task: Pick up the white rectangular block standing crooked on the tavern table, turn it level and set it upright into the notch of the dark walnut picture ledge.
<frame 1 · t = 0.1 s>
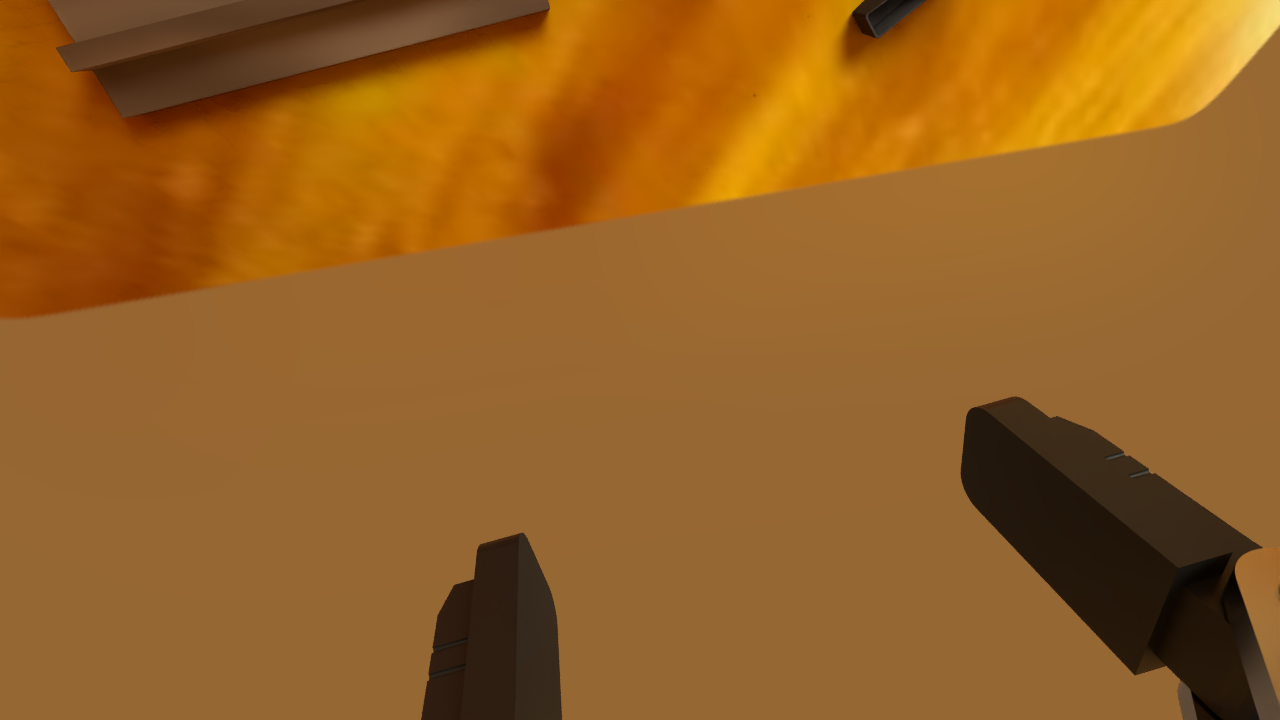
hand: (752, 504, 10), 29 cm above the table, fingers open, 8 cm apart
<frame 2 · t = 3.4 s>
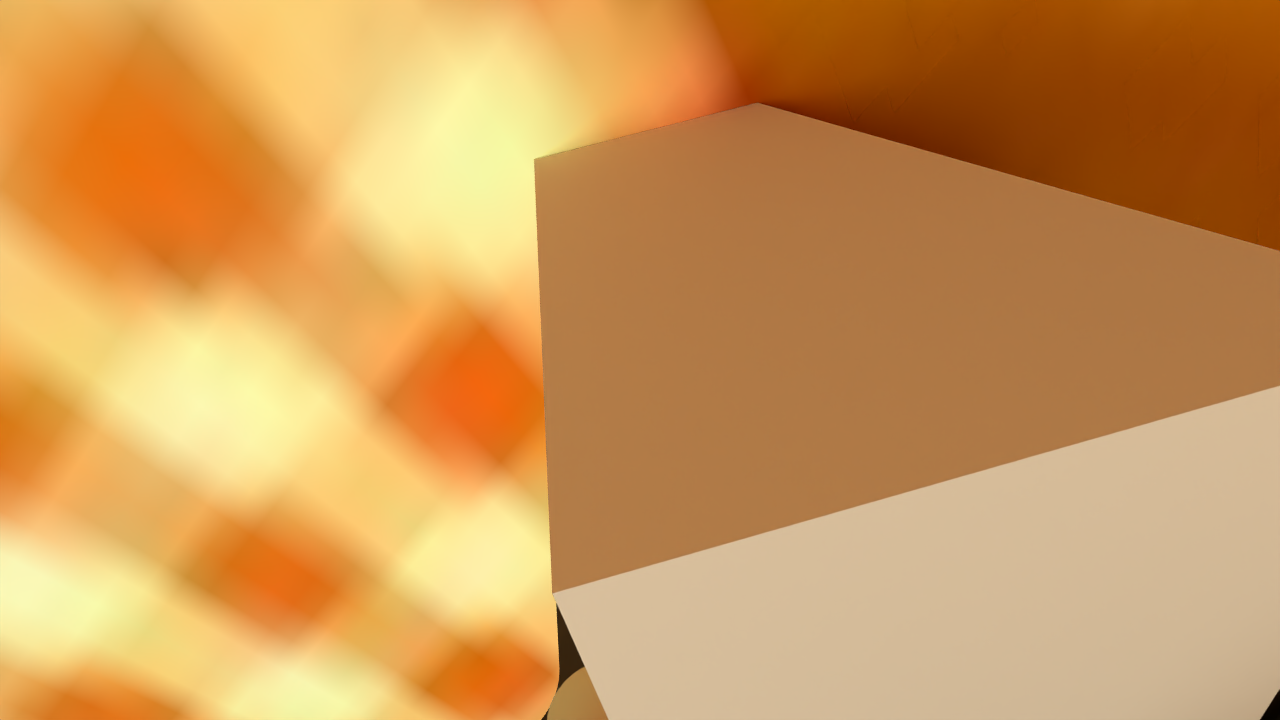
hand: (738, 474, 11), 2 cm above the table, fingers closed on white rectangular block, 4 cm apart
white rectangular block: (699, 407, 13), on the table, touching gripper
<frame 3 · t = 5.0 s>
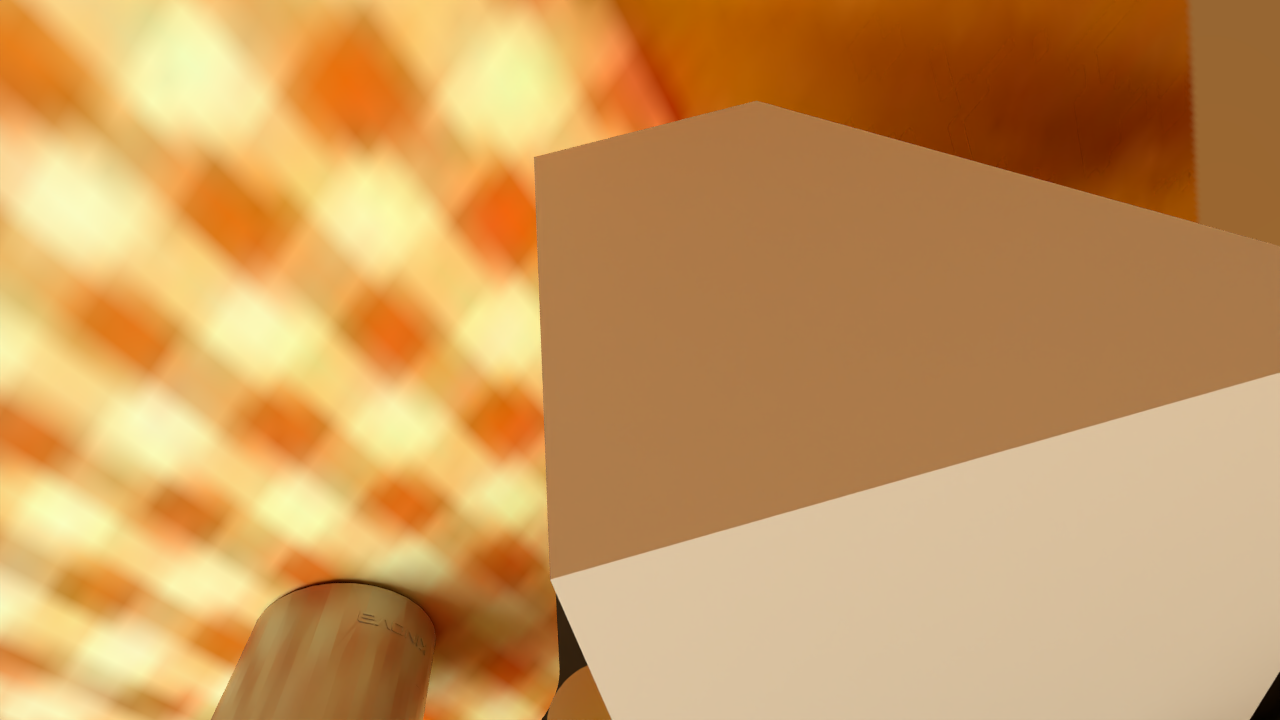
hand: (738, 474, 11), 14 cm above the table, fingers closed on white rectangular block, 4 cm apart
white rectangular block: (699, 405, 13), point 12 cm above the table, touching gripper
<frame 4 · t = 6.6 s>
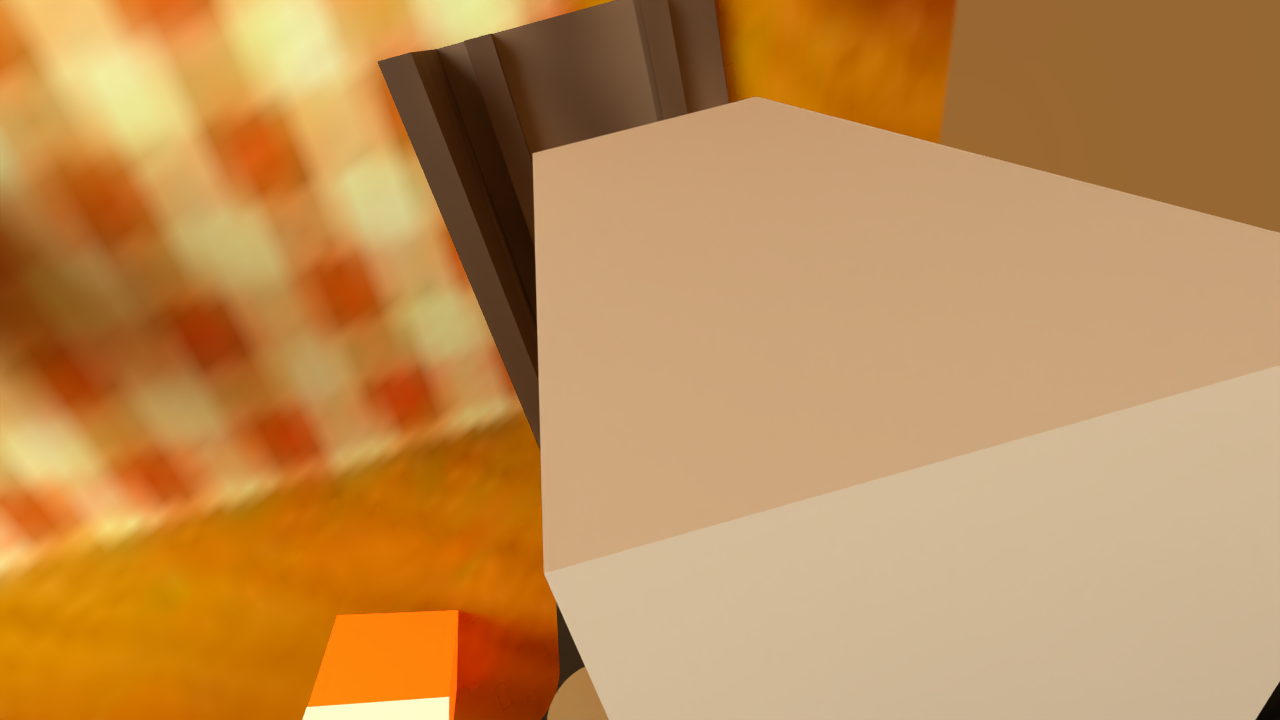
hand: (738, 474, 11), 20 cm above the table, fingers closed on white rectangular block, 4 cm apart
picture ledge: (625, 262, 29), on the table
orange juice: (401, 652, 40), on the table
white rectangular block: (699, 403, 13), point 17 cm above the table, touching gripper
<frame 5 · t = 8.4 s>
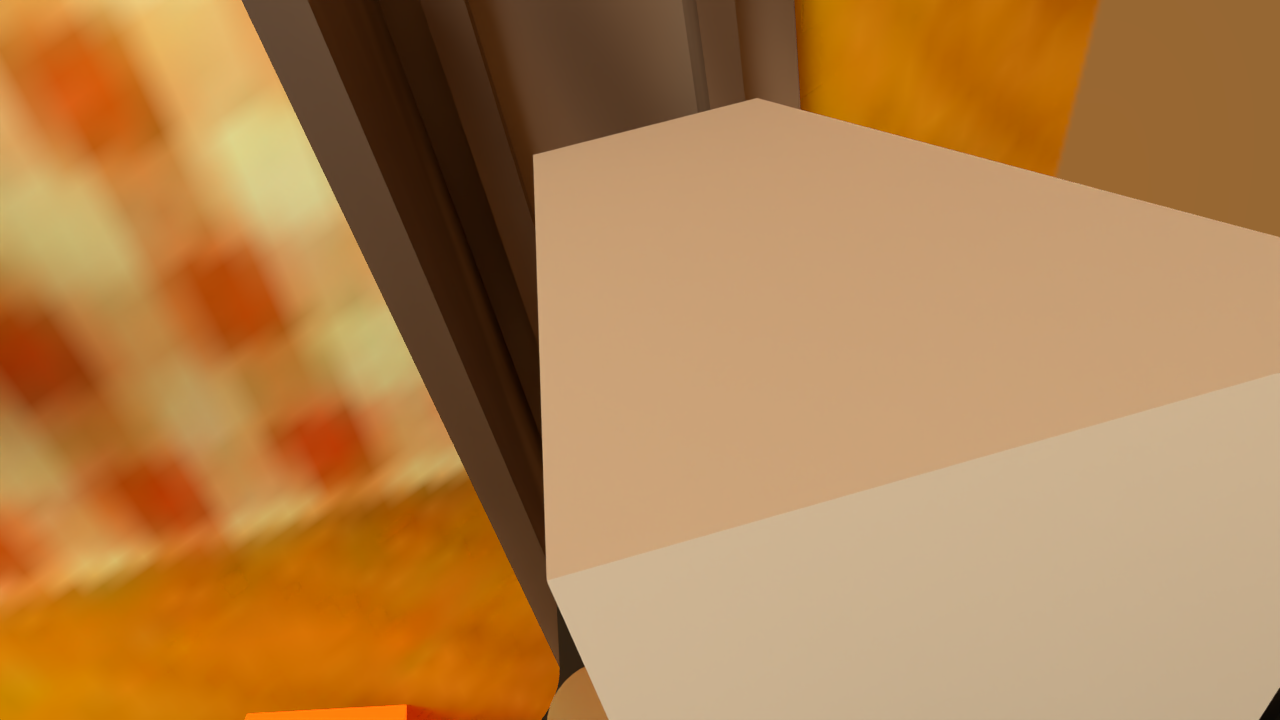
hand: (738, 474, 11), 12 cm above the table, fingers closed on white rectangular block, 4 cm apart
picture ledge: (634, 269, 21), on the table
white rectangular block: (699, 404, 13), point 9 cm above the table, touching gripper
when the fingers open (5 cm above the table, at t = 10.0 s): white rectangular block stays where it is, resting on picture ledge.
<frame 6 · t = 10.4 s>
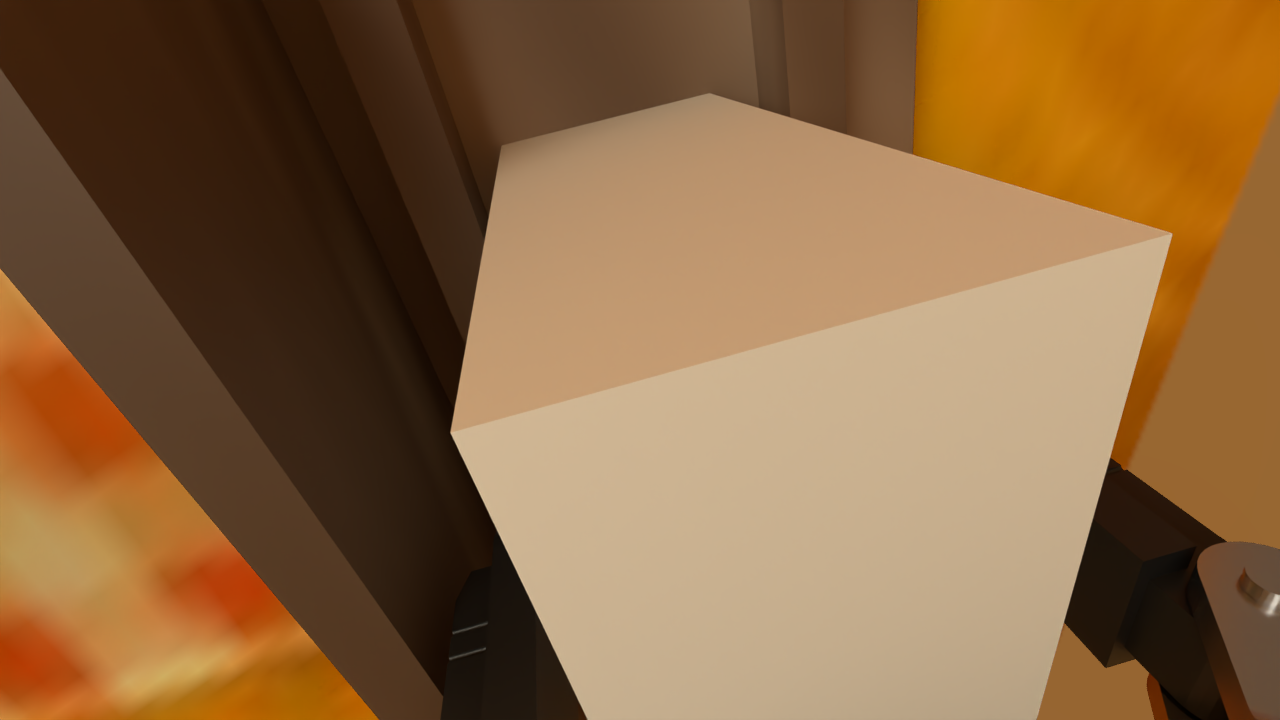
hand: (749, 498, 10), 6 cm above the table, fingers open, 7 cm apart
picture ledge: (659, 353, 15), on the table
white rectangular block: (664, 382, 14), point 1 cm above the table, touching picture ledge
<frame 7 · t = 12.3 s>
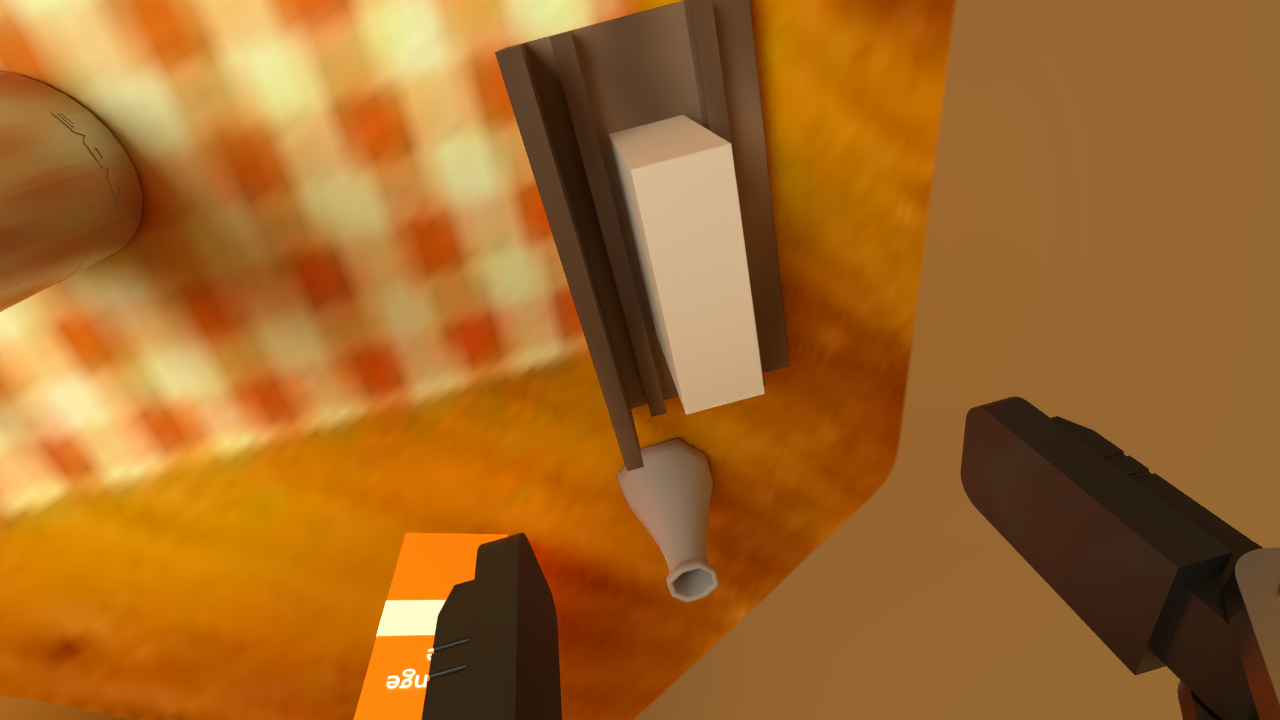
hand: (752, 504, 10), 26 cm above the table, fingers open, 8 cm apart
picture ledge: (666, 226, 34), on the table
flask: (664, 475, 44), on the table
orange juice: (456, 571, 46), on the table
white rectangular block: (668, 233, 33), point 1 cm above the table, touching picture ledge
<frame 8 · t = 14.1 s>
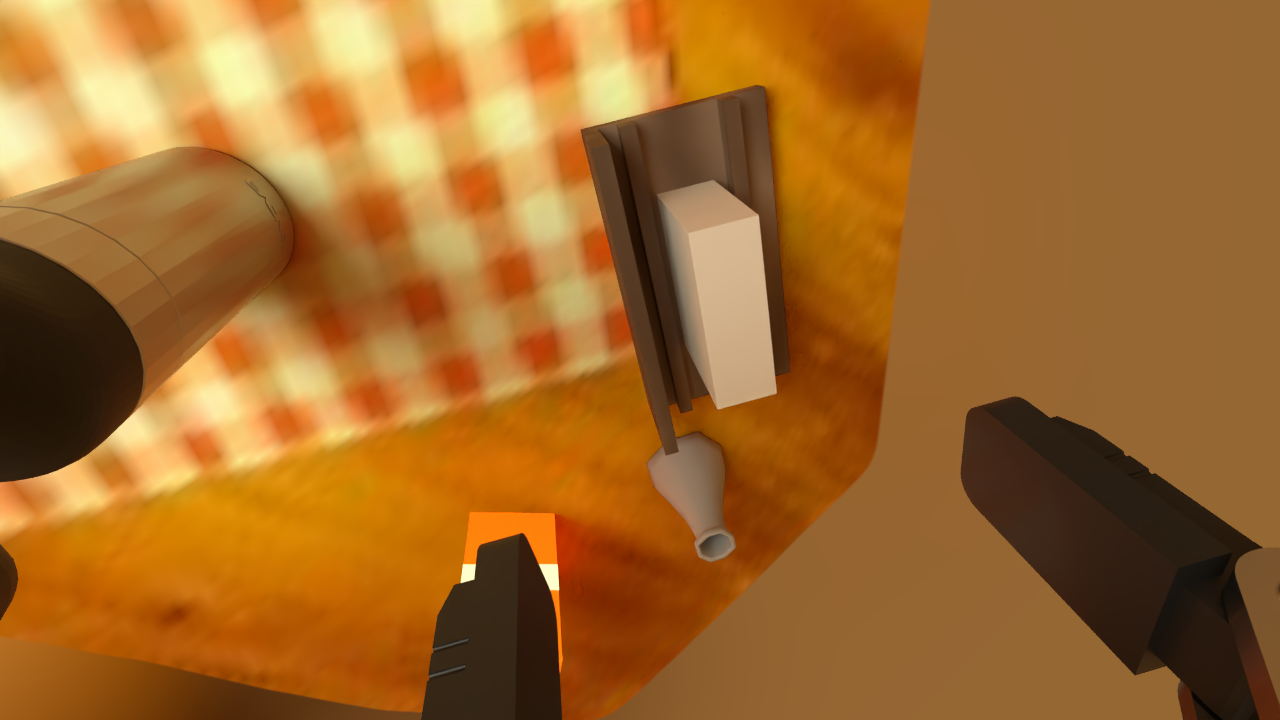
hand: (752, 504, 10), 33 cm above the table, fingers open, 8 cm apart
picture ledge: (695, 262, 44), on the table
flask: (685, 462, 53), on the table
orange juice: (508, 546, 55), on the table
white rectangular block: (698, 268, 42), point 1 cm above the table, touching picture ledge
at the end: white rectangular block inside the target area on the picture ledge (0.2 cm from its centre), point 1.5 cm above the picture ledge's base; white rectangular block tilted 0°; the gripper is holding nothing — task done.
